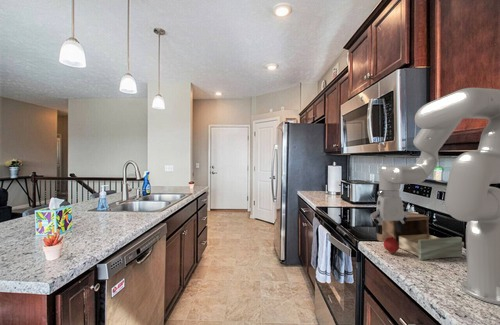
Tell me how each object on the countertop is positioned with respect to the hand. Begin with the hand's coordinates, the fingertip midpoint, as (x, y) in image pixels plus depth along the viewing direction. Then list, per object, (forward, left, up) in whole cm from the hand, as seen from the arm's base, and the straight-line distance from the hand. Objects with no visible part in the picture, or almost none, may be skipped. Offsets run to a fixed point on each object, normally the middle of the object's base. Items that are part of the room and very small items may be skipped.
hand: (389, 232), depth 104 cm
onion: (-1, 0, -9) cm, 9 cm away
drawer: (-3, -15, -8) cm, 17 cm away
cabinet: (+11, -15, -9) cm, 21 cm away
